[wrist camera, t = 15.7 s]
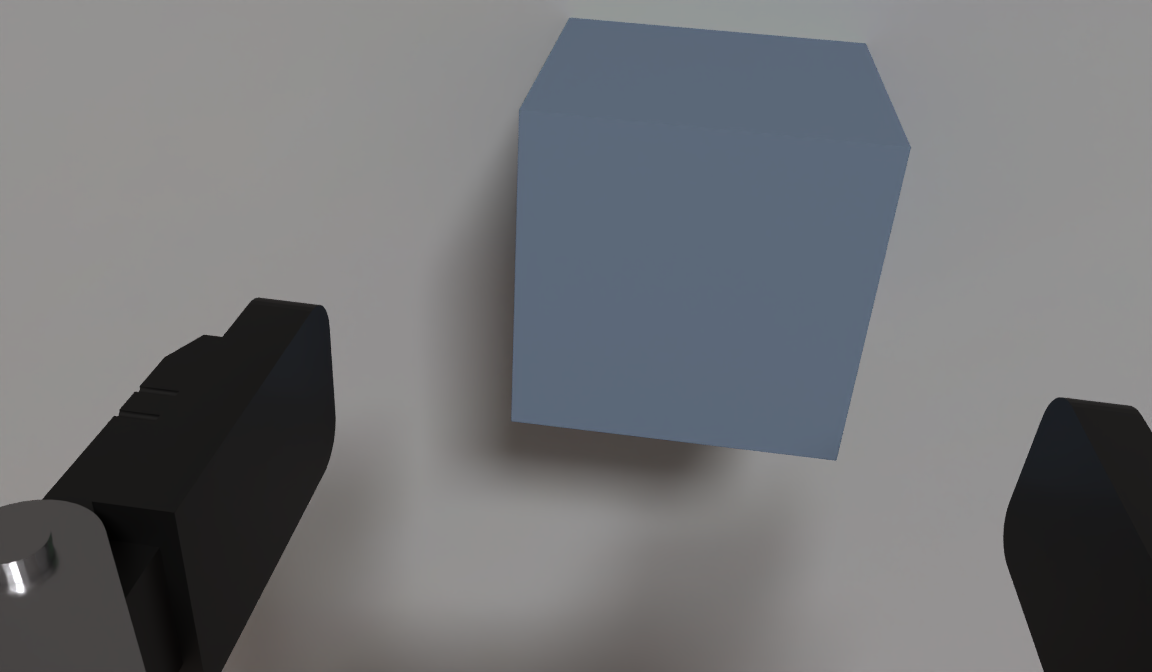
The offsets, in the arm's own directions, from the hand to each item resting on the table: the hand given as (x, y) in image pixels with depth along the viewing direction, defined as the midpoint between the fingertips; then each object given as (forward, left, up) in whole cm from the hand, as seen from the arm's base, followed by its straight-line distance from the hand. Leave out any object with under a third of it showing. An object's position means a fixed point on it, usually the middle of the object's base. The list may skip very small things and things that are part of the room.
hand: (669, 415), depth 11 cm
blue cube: (0, 0, -8) cm, 8 cm away
